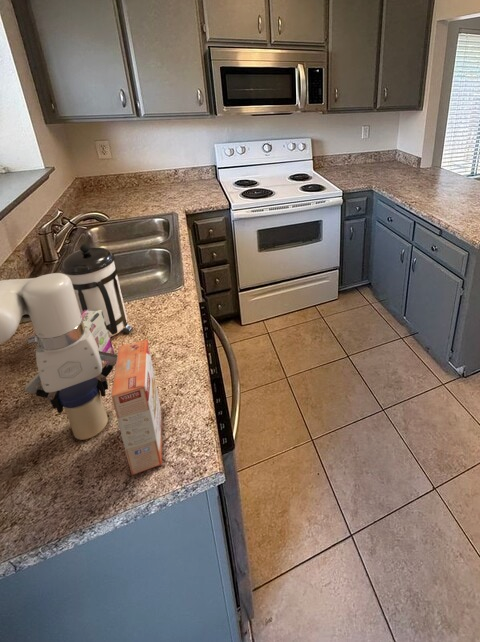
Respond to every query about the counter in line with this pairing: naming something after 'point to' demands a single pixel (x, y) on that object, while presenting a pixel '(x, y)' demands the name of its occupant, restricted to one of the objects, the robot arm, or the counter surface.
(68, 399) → the jar lid
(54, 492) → the counter surface
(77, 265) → the coffee press
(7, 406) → the counter surface
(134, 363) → the cracker box
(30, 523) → the counter surface
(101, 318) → the candy bar box
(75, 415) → the jar
